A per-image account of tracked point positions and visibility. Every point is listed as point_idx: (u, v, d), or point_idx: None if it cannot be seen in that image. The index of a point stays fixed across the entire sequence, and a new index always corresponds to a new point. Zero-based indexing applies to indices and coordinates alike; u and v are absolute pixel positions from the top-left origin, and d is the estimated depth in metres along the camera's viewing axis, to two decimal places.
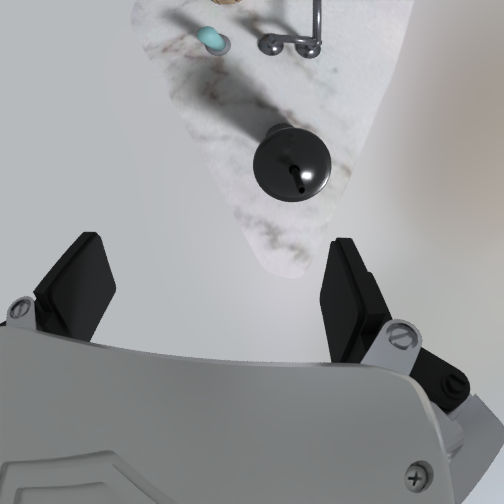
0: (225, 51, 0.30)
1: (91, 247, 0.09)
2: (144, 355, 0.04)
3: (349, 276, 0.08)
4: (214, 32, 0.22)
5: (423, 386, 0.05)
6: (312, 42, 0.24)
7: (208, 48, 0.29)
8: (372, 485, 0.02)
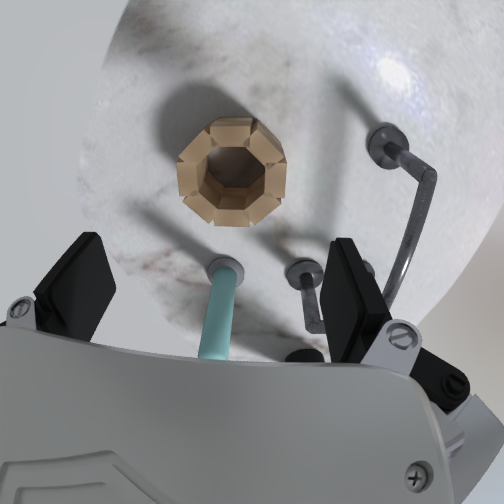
0: (236, 285, 0.25)
1: (91, 247, 0.09)
2: (144, 355, 0.04)
3: (349, 276, 0.08)
4: (224, 358, 0.17)
5: (423, 386, 0.05)
6: None
7: (211, 279, 0.25)
8: (372, 485, 0.02)
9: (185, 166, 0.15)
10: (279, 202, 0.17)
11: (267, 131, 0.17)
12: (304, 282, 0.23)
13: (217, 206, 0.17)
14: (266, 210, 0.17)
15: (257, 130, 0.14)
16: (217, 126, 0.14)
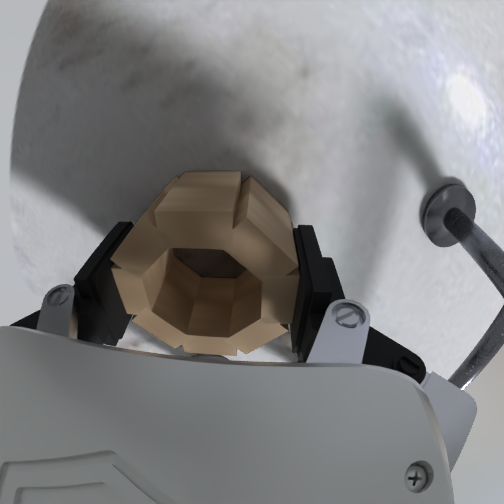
0: None
1: None
2: (144, 355, 0.04)
3: (302, 259, 0.09)
4: None
5: None
6: None
7: None
8: (372, 485, 0.02)
9: (124, 275, 0.09)
10: (285, 329, 0.10)
11: (267, 200, 0.10)
12: None
13: (185, 328, 0.10)
14: (264, 338, 0.10)
15: (247, 219, 0.08)
16: (168, 210, 0.07)
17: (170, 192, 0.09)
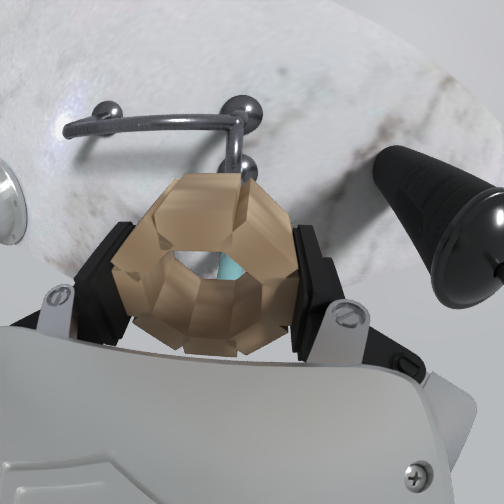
0: None
1: None
2: (144, 355, 0.04)
3: (302, 259, 0.09)
4: None
5: None
6: (238, 133, 0.15)
7: None
8: (372, 485, 0.02)
9: (124, 277, 0.09)
10: (285, 330, 0.10)
11: (267, 202, 0.10)
12: None
13: (186, 330, 0.11)
14: (264, 340, 0.10)
15: (247, 222, 0.08)
16: (168, 213, 0.08)
17: (170, 195, 0.09)
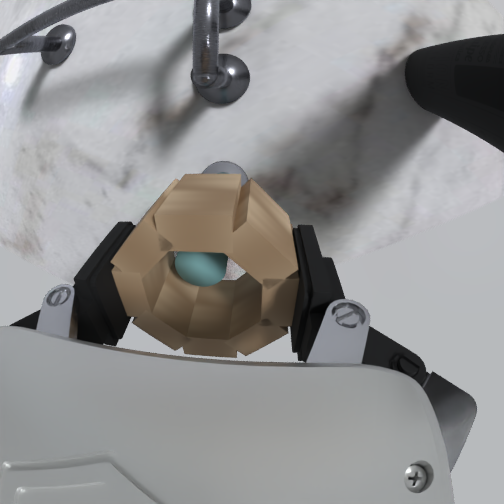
0: (239, 172, 0.17)
1: None
2: (144, 355, 0.04)
3: (302, 259, 0.09)
4: None
5: None
6: None
7: None
8: (372, 485, 0.02)
9: (124, 278, 0.09)
10: (285, 331, 0.10)
11: (267, 203, 0.10)
12: None
13: (186, 330, 0.11)
14: (264, 340, 0.10)
15: (247, 223, 0.08)
16: (168, 214, 0.08)
17: (170, 195, 0.09)
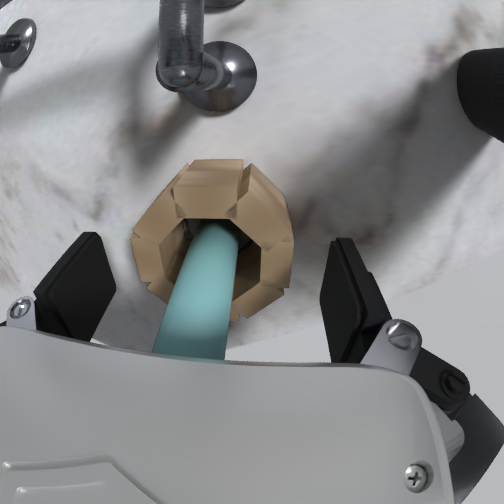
0: None
1: (91, 247, 0.09)
2: (144, 355, 0.04)
3: (349, 276, 0.08)
4: None
5: (423, 386, 0.05)
6: None
7: None
8: (372, 485, 0.02)
9: (143, 244, 0.11)
10: (281, 293, 0.12)
11: (265, 183, 0.12)
12: None
13: None
14: (263, 302, 0.12)
15: (248, 193, 0.09)
16: (184, 186, 0.09)
17: (184, 174, 0.10)
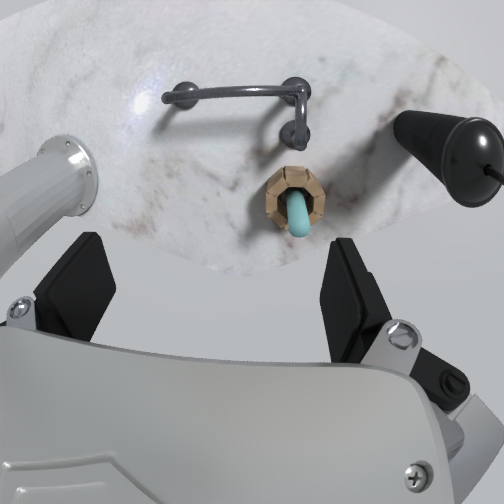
0: None
1: (91, 247, 0.09)
2: (144, 355, 0.04)
3: (349, 276, 0.08)
4: (298, 219, 0.25)
5: (423, 386, 0.05)
6: (304, 98, 0.21)
7: None
8: (372, 485, 0.02)
9: (271, 196, 0.29)
10: (321, 216, 0.30)
11: (313, 176, 0.30)
12: None
13: (286, 218, 0.31)
14: (314, 220, 0.31)
15: (310, 178, 0.28)
16: (289, 175, 0.28)
17: (286, 171, 0.29)
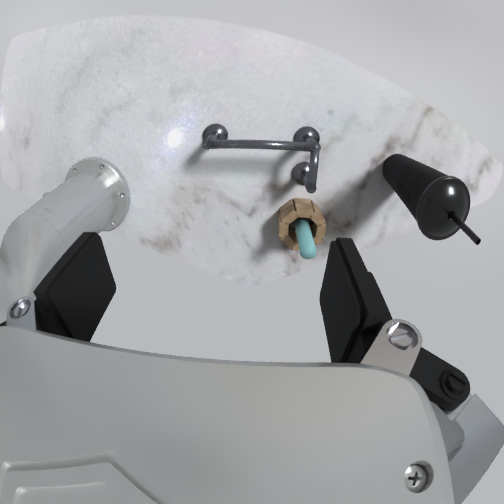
0: None
1: (91, 247, 0.09)
2: (144, 355, 0.04)
3: (349, 276, 0.08)
4: (308, 246, 0.33)
5: (423, 386, 0.05)
6: (317, 153, 0.29)
7: None
8: (372, 485, 0.02)
9: (283, 224, 0.37)
10: (321, 240, 0.39)
11: (316, 207, 0.39)
12: None
13: (294, 241, 0.39)
14: (316, 243, 0.39)
15: (315, 211, 0.36)
16: (299, 209, 0.36)
17: (296, 204, 0.37)
